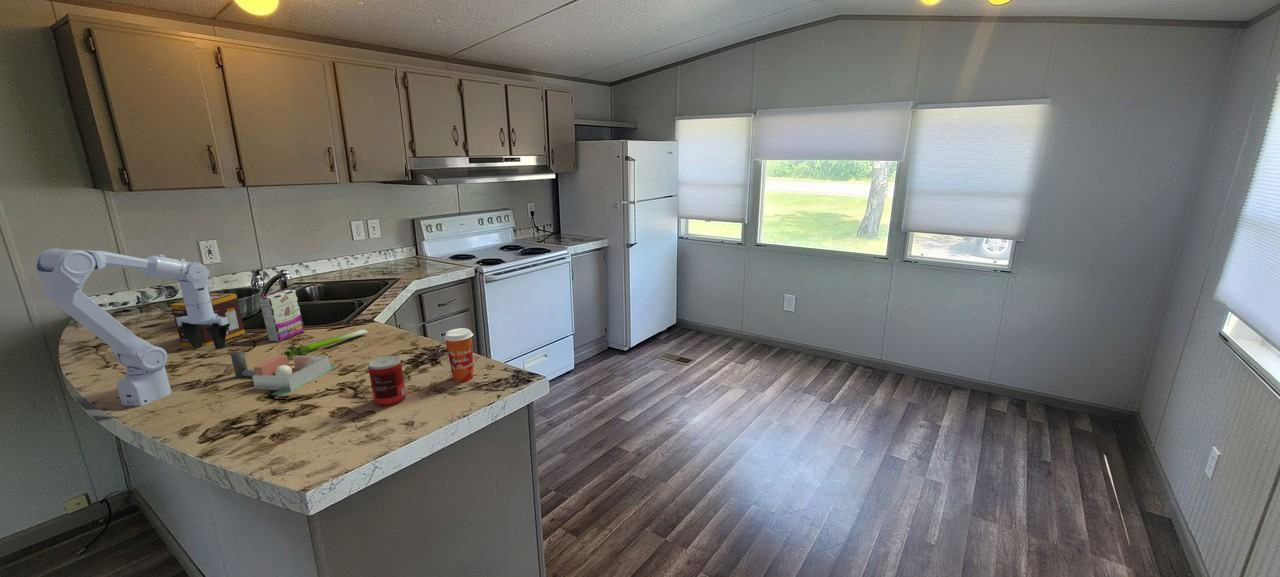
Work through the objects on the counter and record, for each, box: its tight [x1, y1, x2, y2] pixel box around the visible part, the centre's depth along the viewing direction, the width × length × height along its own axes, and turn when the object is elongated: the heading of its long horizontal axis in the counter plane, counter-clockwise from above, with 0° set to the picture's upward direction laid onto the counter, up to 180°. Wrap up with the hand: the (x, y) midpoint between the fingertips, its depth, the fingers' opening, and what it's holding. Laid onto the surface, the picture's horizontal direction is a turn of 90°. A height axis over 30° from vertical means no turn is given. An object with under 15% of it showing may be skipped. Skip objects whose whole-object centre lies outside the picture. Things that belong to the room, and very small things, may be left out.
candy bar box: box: [259, 289, 306, 343], centre depth 184 cm, size 11×5×16 cm, turn 168°
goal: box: [252, 355, 331, 392], centre depth 146 cm, size 15×11×4 cm
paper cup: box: [443, 327, 474, 383], centre depth 145 cm, size 8×8×14 cm
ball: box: [275, 365, 293, 376], centre depth 146 cm, size 4×4×4 cm
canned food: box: [367, 355, 407, 407], centre depth 133 cm, size 8×8×11 cm
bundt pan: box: [180, 286, 264, 319], centre depth 210 cm, size 26×26×10 cm
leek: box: [280, 329, 369, 360], centre depth 173 cm, size 6×7×30 cm
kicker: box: [230, 351, 291, 379], centre depth 147 cm, size 9×13×7 cm
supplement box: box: [170, 293, 246, 348], centre depth 183 cm, size 10×15×16 cm
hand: (209, 347), depth 149 cm, fingers open, 7 cm apart
